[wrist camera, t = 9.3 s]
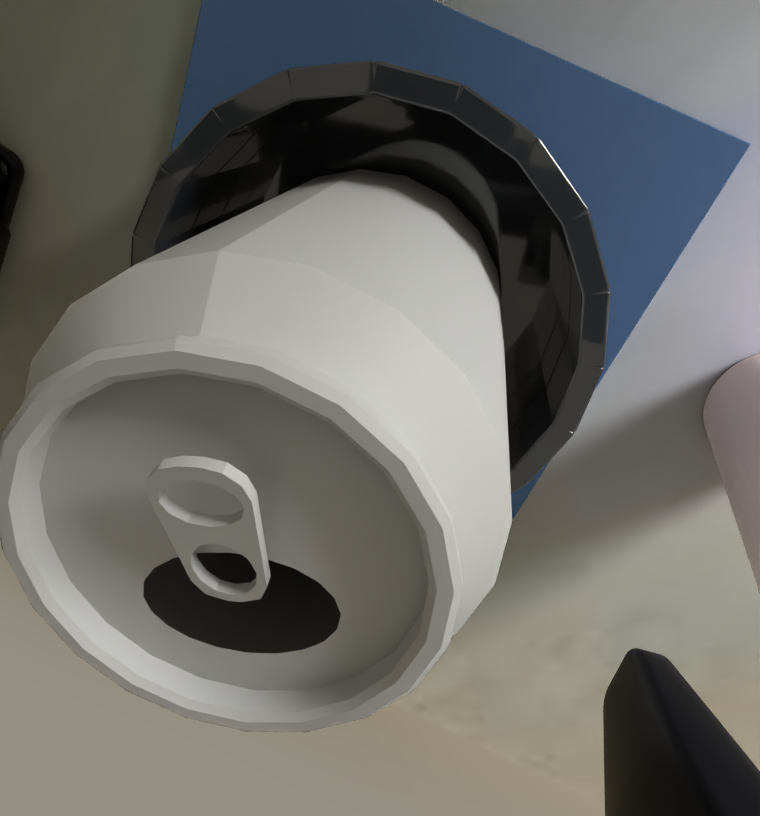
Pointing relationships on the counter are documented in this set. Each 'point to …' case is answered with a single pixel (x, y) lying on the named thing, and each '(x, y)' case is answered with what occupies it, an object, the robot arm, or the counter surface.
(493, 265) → the can
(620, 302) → the napkin
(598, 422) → the counter surface
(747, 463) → the smoothie
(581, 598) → the counter surface
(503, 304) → the pan
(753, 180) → the counter surface
